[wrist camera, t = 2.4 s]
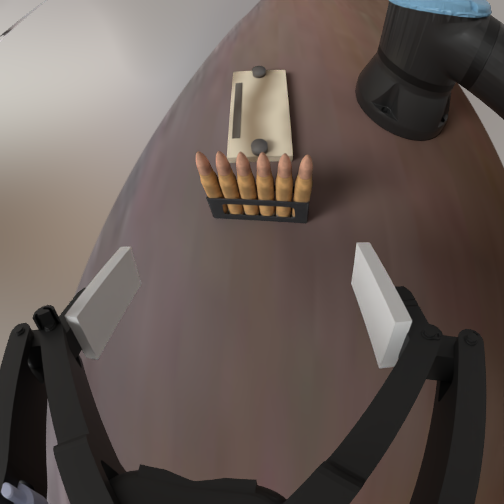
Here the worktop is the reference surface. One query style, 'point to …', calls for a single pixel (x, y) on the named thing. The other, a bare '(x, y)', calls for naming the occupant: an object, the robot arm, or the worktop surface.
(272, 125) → the plate
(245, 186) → the ammunition clip
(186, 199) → the worktop surface
